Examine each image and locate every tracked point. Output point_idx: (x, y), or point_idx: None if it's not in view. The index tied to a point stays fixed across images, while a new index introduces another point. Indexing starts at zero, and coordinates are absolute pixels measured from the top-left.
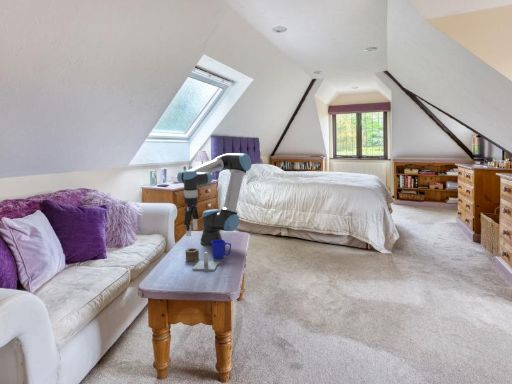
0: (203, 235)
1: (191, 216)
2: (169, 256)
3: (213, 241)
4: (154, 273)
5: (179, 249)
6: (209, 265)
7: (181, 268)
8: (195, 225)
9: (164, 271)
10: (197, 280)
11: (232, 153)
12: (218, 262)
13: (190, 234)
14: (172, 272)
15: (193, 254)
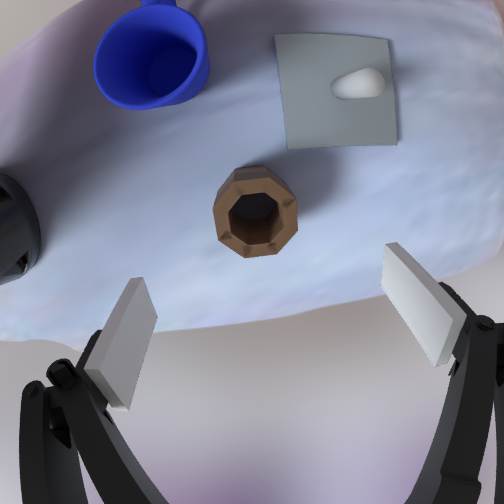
0: (7, 271)
1: (456, 437)
2: (235, 321)
3: (134, 101)
4: None
5: None
6: (344, 69)
7: (376, 204)
8: (135, 325)
9: None
10: (468, 99)
11: None
12: (286, 34)
13: (404, 252)
14: (416, 223)
15: (289, 190)
